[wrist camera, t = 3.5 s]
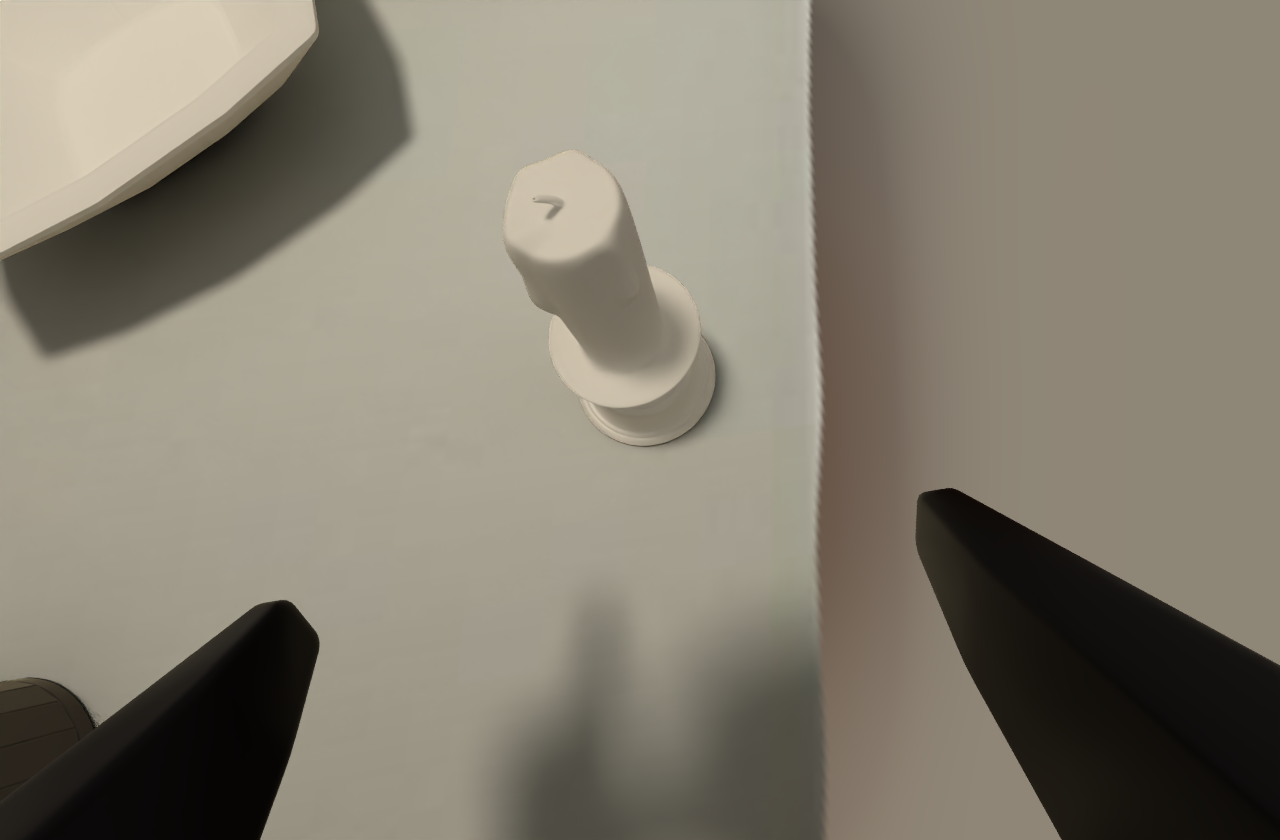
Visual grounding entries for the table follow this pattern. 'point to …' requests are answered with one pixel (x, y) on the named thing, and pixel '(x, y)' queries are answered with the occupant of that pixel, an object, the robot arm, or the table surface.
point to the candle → (607, 302)
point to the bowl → (126, 96)
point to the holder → (35, 728)
